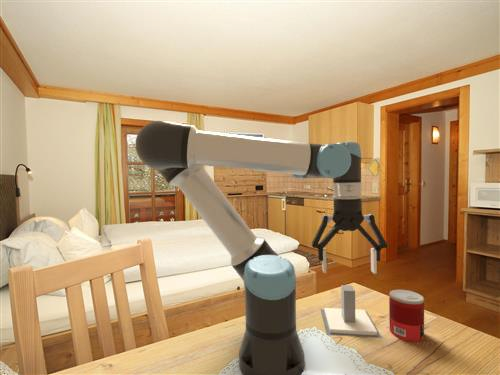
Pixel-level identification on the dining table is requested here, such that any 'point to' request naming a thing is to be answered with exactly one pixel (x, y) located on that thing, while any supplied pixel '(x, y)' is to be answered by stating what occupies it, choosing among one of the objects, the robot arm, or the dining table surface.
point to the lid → (348, 316)
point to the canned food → (406, 315)
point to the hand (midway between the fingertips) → (348, 272)
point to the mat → (348, 334)
